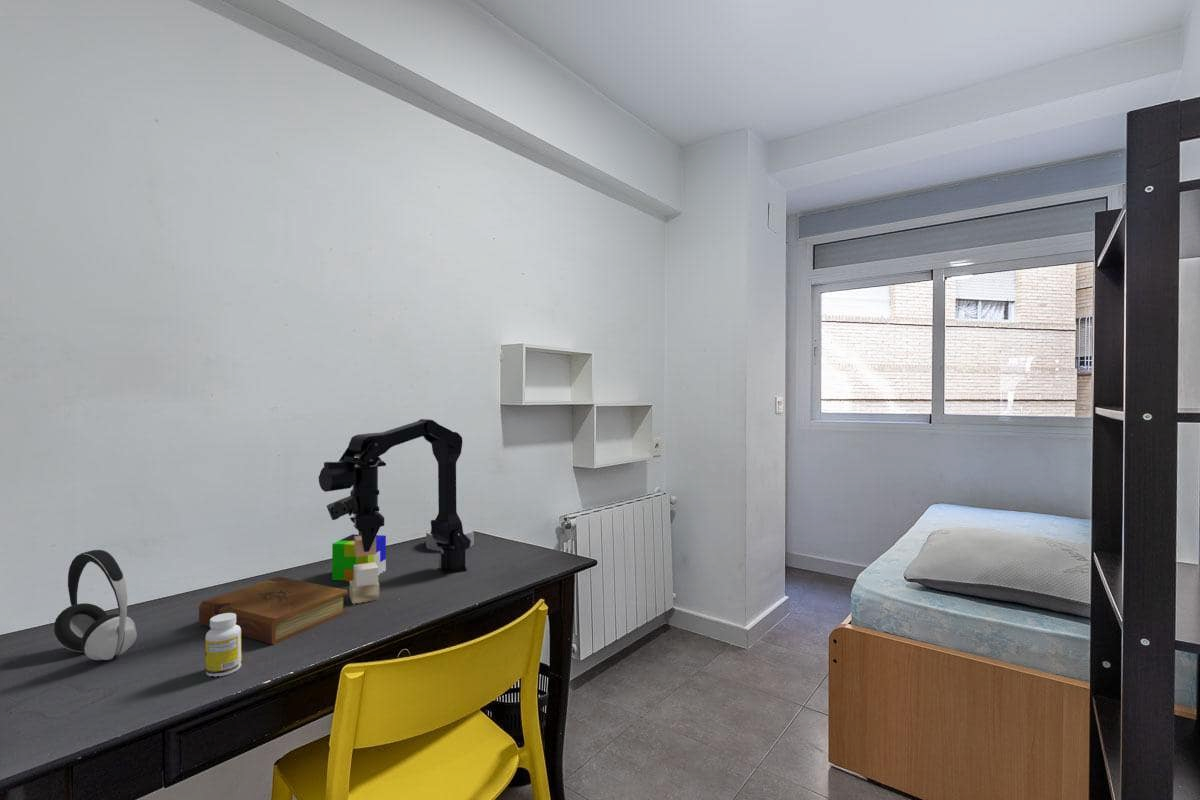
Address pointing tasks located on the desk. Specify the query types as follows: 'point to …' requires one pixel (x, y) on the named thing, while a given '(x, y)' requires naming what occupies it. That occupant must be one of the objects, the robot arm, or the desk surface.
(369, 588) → the tower base
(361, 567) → the tower top
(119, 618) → the headphones
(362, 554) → the cube
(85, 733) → the desk surface
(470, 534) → the grey bowl
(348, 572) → the puzzle toy
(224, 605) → the diary
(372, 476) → the robot arm
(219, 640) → the supplement bottle
